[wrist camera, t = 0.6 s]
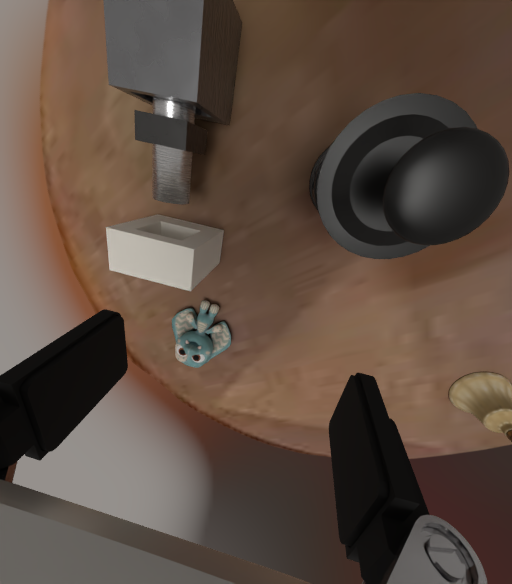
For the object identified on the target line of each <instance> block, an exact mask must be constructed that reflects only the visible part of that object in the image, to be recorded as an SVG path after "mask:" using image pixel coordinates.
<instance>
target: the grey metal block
mask: <svg viewBox="0 0 512 584" xmlns="http://www.w3.org/2000/svg"><path fill="white" fill-rule="evenodd" d="M104 14H105V30H106V46H107V62H108V78H109V85H111V86H113V87H115V88H117V89H119V90H121V91H123V92H125V93H127V94H129V95H132V96H134V97H136V98H138V99H140V100H142V101H144V102H146V103H148V104H151V105H153V96H155V97H160V98H165V99H169V100H174V101H179V102H184V103H189V104H192V105H194V106H195V107H196V109H195V118H197V119H202V120H206V121H211V122H216V123H221V124H226V125H230V119H231V111H232V103H233V95H234V86H235V78H236V70H237V61H238V53H239V45H240V37H241V28H242V21H241V19H240V16H239V14H238V11H237V9H236V6H235V4H234V2H233V0H104Z"/></svg>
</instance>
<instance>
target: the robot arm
mask: <svg viewBox="0 0 512 584" xmlns="http://www.w3.org/2000/svg"><path fill="white" fill-rule="evenodd" d="M127 368H128V364H127V352H126V341H125V330H124V320H123V318H122V317H121V315H120V314H119V313H118V312H114V311H110V310H102V311H100V312H98V313H97V314H95V315H94V316H92V317H91V318H89V319H88V320H86V321H84V322H83V323H82V324H80V325H78V326H77V327H75V328H74V329H72V330H70V331H69V332H67V333H66V334H64V335H63V336H61V337H60V338H58V339H56V340H55V341H53V342H52V343H50V344H49V345H47V346H46V347H44V348H43V349H41V350H40V351H38V352H37V353H35V354H33V355H32V356H30V357H29V358H27V359H25V360H24V361H22V362H21V363H19V364H18V365H16V366H15V367H13V368H12V369H10V370H8V371H7V372H5V373H4V374H2V375H1V376H0V584H311V583H308V582H306V581H303V580H300V579H297V578H294V577H292V576H289V575H286V574H283V573H281V572H278V571H275V570H272V569H269V568H266V567H263V566H260V565H257V564H254V563H251V562H248V561H246V560H243V559H240V558H237V557H234V556H231V555H228V554H225V553H222V552H219V551H216V550H213V549H210V548H207V547H204V546H201V545H198V544H195V543H192V542H189V541H186V540H183V539H180V538H177V537H174V536H171V535H168V534H165V533H162V532H159V531H156V530H153V529H150V528H147V527H144V526H141V525H138V524H135V523H132V522H129V521H126V520H123V519H120V518H117V517H114V516H111V515H108V514H105V513H102V512H99V511H96V510H93V509H90V508H87V507H84V506H81V505H78V504H74V503H72V502H69V501H65V500H62V499H60V498H56V497H53V496H50V495H47V494H44V493H41V492H38V491H35V490H32V489H29V488H26V487H23V486H20V485H16V484H13V483H12V481H13V477H14V473H15V469H16V464H17V461H18V460H19V459H20V458H21V456H23V455H24V454H25V455H26V456H28V457H31V458H34V459H37V460H41V459H42V458H43V457H44V456H45V455H46V454H47V453H48V452H49V451H53V450H54V449H56V448H57V447H58V446H59V445H60V444H61V442H62V441H63V440H64V439H65V438H66V437H67V436H68V435H69V434H70V433H71V432H72V431H73V430H74V428H75V427H76V426H77V425H78V424H79V423H80V422H81V421H82V420H83V419H84V418H85V416H86V415H87V414H88V413H89V412H90V411H91V410H92V409H93V408H94V407H95V406H96V404H98V402H99V401H100V400H101V399H102V398H103V397H104V396H105V395H106V394H107V393H108V392H109V391H110V390H111V388H112V387H113V386H114V385H115V384H116V383H117V382H118V381H119V380H120V379H121V378H122V377H123V375H124V374H125V373H126V371H127ZM329 437H330V448H331V458H332V468H333V478H334V487H335V488H334V489H335V498H336V509H337V520H338V529H339V538H340V541H341V543H342V544H345V546H346V555H347V559H351V560H353V561H356V562H359V563H360V570H361V577H362V578H363V580H364V581H363V583H362V584H487V580H486V576H485V573H484V570H483V567H482V565H481V563H480V561H479V559H478V557H477V555H476V553H475V552H474V550H473V549H472V548H471V546H470V545H469V544H468V542H467V541H466V539H465V538H464V537H463V536H462V535H461V534H460V533H459V532H458V531H457V530H456V529H455V528H453V527H452V526H451V525H450V524H448V523H447V522H446V521H444V520H442V519H440V518H438V517H436V516H432V515H429V512H428V509H427V507H426V504H425V502H424V499H423V496H422V493H421V491H420V488H419V485H418V483H417V480H416V477H415V475H414V472H413V469H412V467H411V464H410V461H409V459H408V456H407V453H406V451H405V448H404V445H403V442H402V440H401V437H400V434H399V432H398V429H397V426H396V424H395V422H394V421H393V420H392V419H389V416H388V413H387V411H386V408H385V405H384V402H383V399H382V397H381V394H380V391H379V388H378V385H377V383H376V380H375V378H374V377H373V376H370V375H366V374H362V373H357V374H356V375H355V376H353V375H351V376H350V378H349V380H348V382H347V384H346V387H345V389H344V391H343V393H342V396H341V398H340V400H339V402H338V404H337V407H336V409H335V411H334V413H333V416H332V418H331V420H330V423H329Z"/></svg>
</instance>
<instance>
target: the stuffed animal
mask: <svg viewBox="0 0 512 584" xmlns="http://www.w3.org/2000/svg"><path fill="white" fill-rule="evenodd" d="M209 306H210V302H209V301H207V300H204V301H202V302H201V305H200V313H199V314H198V317H197V314H196V313H195V311H194V308H188V309H185V310H183V311H181V312H179V313H177V314H176V315H175V317H174V318H173V319H172V328H173V331H174V335H175V339H176V346H175V354H176V358H177V359H178V360H179V361H180V362H182V363H184V364H185V365H187V366H191V367H200V366H202V365H203V364H205V363H207V362H208V361H209V360H210V359H212V358H213V357H215V356H216V355H218V354H219V353H221V352H223V351H224V350H226V349H227V348H228V347H229V346H230V345H231V335H230V332H229V329H228V326H227V324H226V323H225V321H222V322H220V323H218V324H215V325H213V327H212V328H210V329H208V328H209V327H210V326H211V324H212V323H213V321H214V317H215V316H216V315H217V313H218V311H219V306H218V305H217V304H212V305H211V307H210V310H209V314H208V313H206V312H207V310H208V308H209ZM194 329H197V331H193V330H194ZM205 333H207V334H209V333H210V336H211V339H210V338H209V336H208V335H206V334H205Z"/></svg>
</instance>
